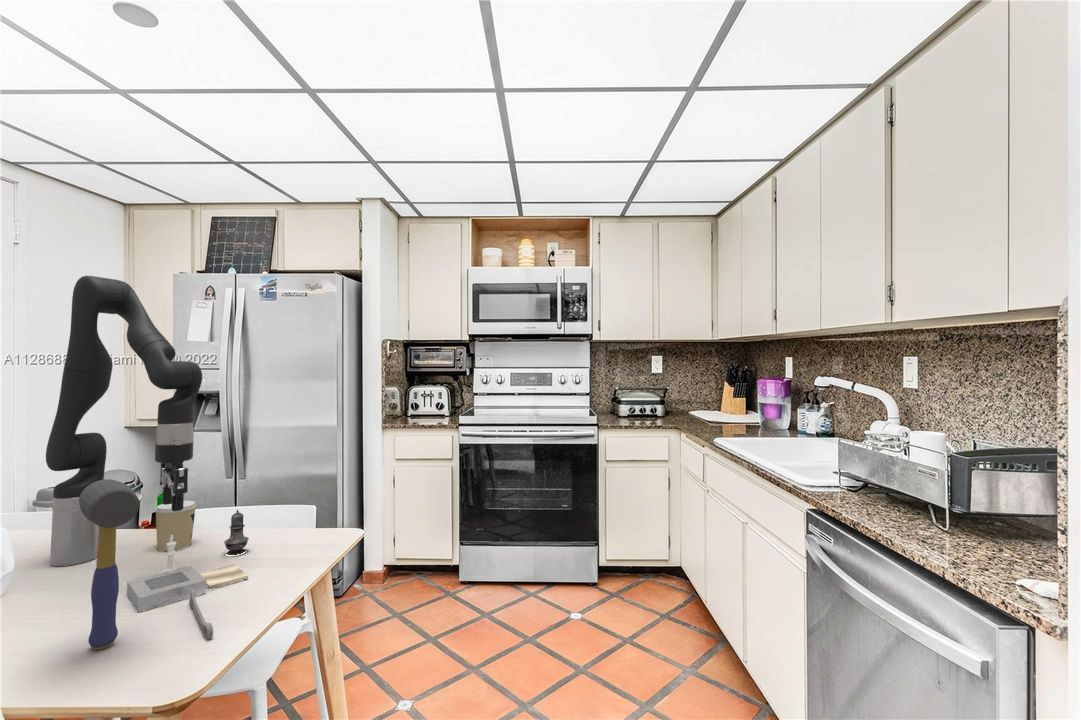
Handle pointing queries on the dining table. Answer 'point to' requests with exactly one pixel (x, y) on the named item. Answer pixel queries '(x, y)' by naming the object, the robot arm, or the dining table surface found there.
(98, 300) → the robot arm
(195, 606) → the combination wrench
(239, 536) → the salt shaker
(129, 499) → the rubber mallet
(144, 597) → the socket block
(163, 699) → the dining table surface
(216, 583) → the birch pad
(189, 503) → the coffee cup
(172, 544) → the chess piece
